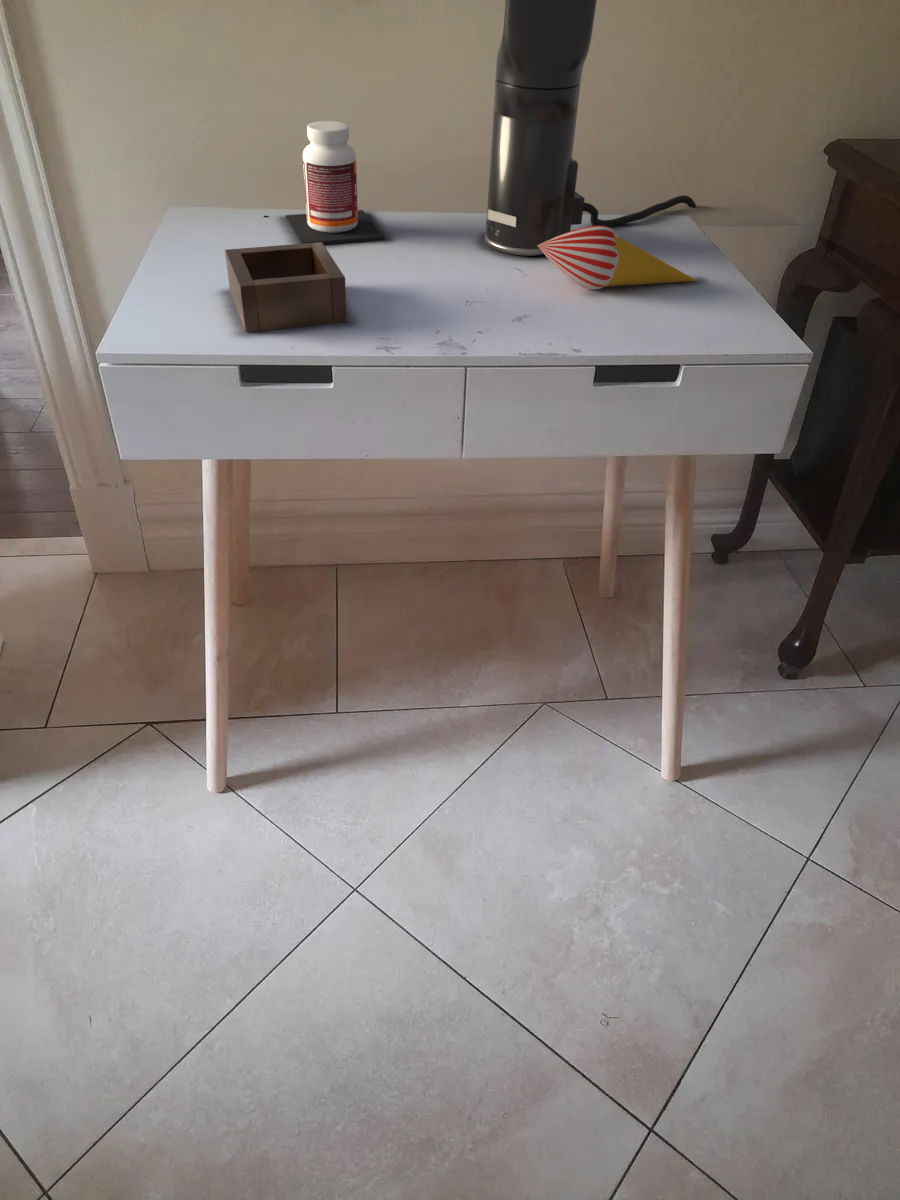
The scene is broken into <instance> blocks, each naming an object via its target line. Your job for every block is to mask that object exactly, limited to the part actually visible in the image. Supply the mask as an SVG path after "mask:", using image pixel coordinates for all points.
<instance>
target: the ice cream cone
mask: <svg viewBox="0 0 900 1200" xmlns="http://www.w3.org/2000/svg"><path fill="white" fill-rule="evenodd" d="M537 246H538V247H539V248H540V249H541V251H542V252H543V253H544V254H545V257H546V258H547V259H548V261H549V262H551V263H552V265H554V266H555V267H556V269H557V270H559V271H560V272H561V273H562V274H563V275H564V276H565V277H566V278H568V279H569V280H571V281H572V282H573V283H574V284H576V285H578V286H579V287H582V288H584V289H588V290H600V289H602V288H605V287H619V286H620V287H621V286H636V285H650V284H651V285H652V284H653V285H654V284H666V283H667V284H668V283H683V282H684V283H685V282H698V280H697V279H695V278H693V277H692V276H689V275H688V274H686V273H684V272H683V271H680V270H679V269H677V268H676V267H673V266H671V265H670V264H668V263H666V262H664V261H663V260H661V259H659V258H657V257H655V256H654V255H652V254H650V253H649V252H647V251H645V250H643V249H641V248H640V247H638V246H636V245H634V244H633V243H631V242H629V241H628V240H625V239H623V238H622V237H620V236H618V235H617V233H616V232H615V231H614V229H613V228H612V227H606V226H600V225H597V226H593V225H590V226H585V227H580V228H578V229H574V230H570V232H567V233H565V234H562V235H559V236H556V237H554V238H552V239H550V240H548V241H546V242H543V243H541V244H539V245H537Z"/></svg>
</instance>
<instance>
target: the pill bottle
mask: <svg viewBox="0 0 900 1200" xmlns="http://www.w3.org/2000/svg"><path fill="white" fill-rule="evenodd" d="M306 134H307V139H308V141H310V143H309V144H307V145H306V146H305V147H304V148H303V151H302V167H303V183H304V196H305V197H304V198H305V212H306V213H305V214H307V223H308V225H309V226H310V227H311V228H312V229H314V230H317V231H321V232H327V233H340V232H345V231H349V230H352V229H354V228H355V227H356V226H357V224H358V210H359V209H358V182H357V181H358V180H357V179H358V178H357V154H356V151H355V149H354V148H353V147H352V146H350V145H349V144H348V141H349V138H350V133H349V125H348V124H347V123H344V122H341V121H334V120H333V121H332V120H331V121H330V120H321V121H314V122H313V121H312V122H310V123H308V124H307V126H306Z"/></svg>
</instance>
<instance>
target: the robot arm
mask: <svg viewBox="0 0 900 1200" xmlns="http://www.w3.org/2000/svg"><path fill="white" fill-rule="evenodd" d="M597 1H598V0H505V3H504V4H505V5H504V16H503V17H504V18H503V28H502V29H503V30H502V35H501V40H500V44H499V47H498V50H497V54H496V62H495V63H496V64H495V65H496V66H495V80H494V81H495V82H494V98H493V115H492V128H491V129H492V130H491V147H490V162H489V177H488V192H487V193H488V194H487V206H486V207H487V208H486V209H487V210H486V221H485V232H484V242H485V244H486V245H487V246H488V247H490V248H492V249H494V250H495V251H498V252H501V253H505V254H509V255H513V256H523V257H524V256H526V257H528V256H529V257H532V256H533V257H536V256H544V255H545V254H544V253H543V252H542V251H541V249H540V248H539V247H538V246H537V245H539V244H541V243H543V242H546V241H548V240H550V239H552V238H554V237H556V236H559V235H562V234H565V233H567V232H570V231H571V229H572V228H571V227H572V225H573V226H574V225H581V224H582V222H583V212H586V213H588V214H590V217H589V218H590V219H589V220H590V224H591V226H597V225H600V226H606V227H609V228H613V227H618V226H622V225H626V224H629V223H633V222H635V221H641V220H643V219H645V218H647V217H650V216H652V215H654V214H656V213H658V212H662V211H666V210H667V209H670V208H671V207H674V206H676V205H679V204H685V205H687V207H688V208H691V209H693V208H697V205H696V204H697V203H696V202H695V200H694V199H692V198H691V196H689V195H677V196H675V197H672V198H670V199H667V200H665V201H662V202H660V203H656V204H654V205H651V206H649V207H647V208H645V209H643V210H640V211H638V212H634V213H629V214H626V215H623V216H619V217H616V218H611V219H599V210H598V209H597V208H596V207H595V205H593V204H591V203H588V202H585V197H584V196H582V195H581V194H580V193H578V192H577V191H576V187H577V181H578V180H577V179H578V170H579V163H578V161H577V160H576V159H574V158H573V152H574V146H575V145H574V144H575V136H576V126H577V119H578V109H579V101H580V94H581V93H580V92H581V83H582V75H583V69H584V65H585V62H586V59H587V57H588V55H589V51H590V48H591V47H590V46H591V42H592V35H593V30H594V22H595V17H596V15H595V14H596V9H597V7H596V6H597ZM545 256H546V255H545Z"/></svg>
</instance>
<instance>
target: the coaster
mask: <svg viewBox="0 0 900 1200" xmlns="http://www.w3.org/2000/svg"><path fill="white" fill-rule="evenodd" d="M284 218H285V221H286V222H287V224H288V226H289V227H290V229H291V232H293V234H294V236H295V238H296V239H297V241H298V243H299V244H305V243H317V242H322V243H323V244H324V245H333V244H345V243H346V244H347V243H357V242H358V243H360V242H370V241H371V242H373V241H384V240H385V236H384V234H383V233H382V231H380V229H379V228H378V227H377V226H376V224H375V223H374V222H373V220H371V218H370V217H369V216H368V215H367V213H366V212H365V211H364V210H363V209H358V224H357V226H356V227H355V228H354V229H352V230H349V231H345V232H340V233H327V232H321V231H317V230H314V229H312V228H311V227H310V226H309V225H308V223H307V213H302V214H301V213H300V214H287V215H286V214H285V215H284Z"/></svg>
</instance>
